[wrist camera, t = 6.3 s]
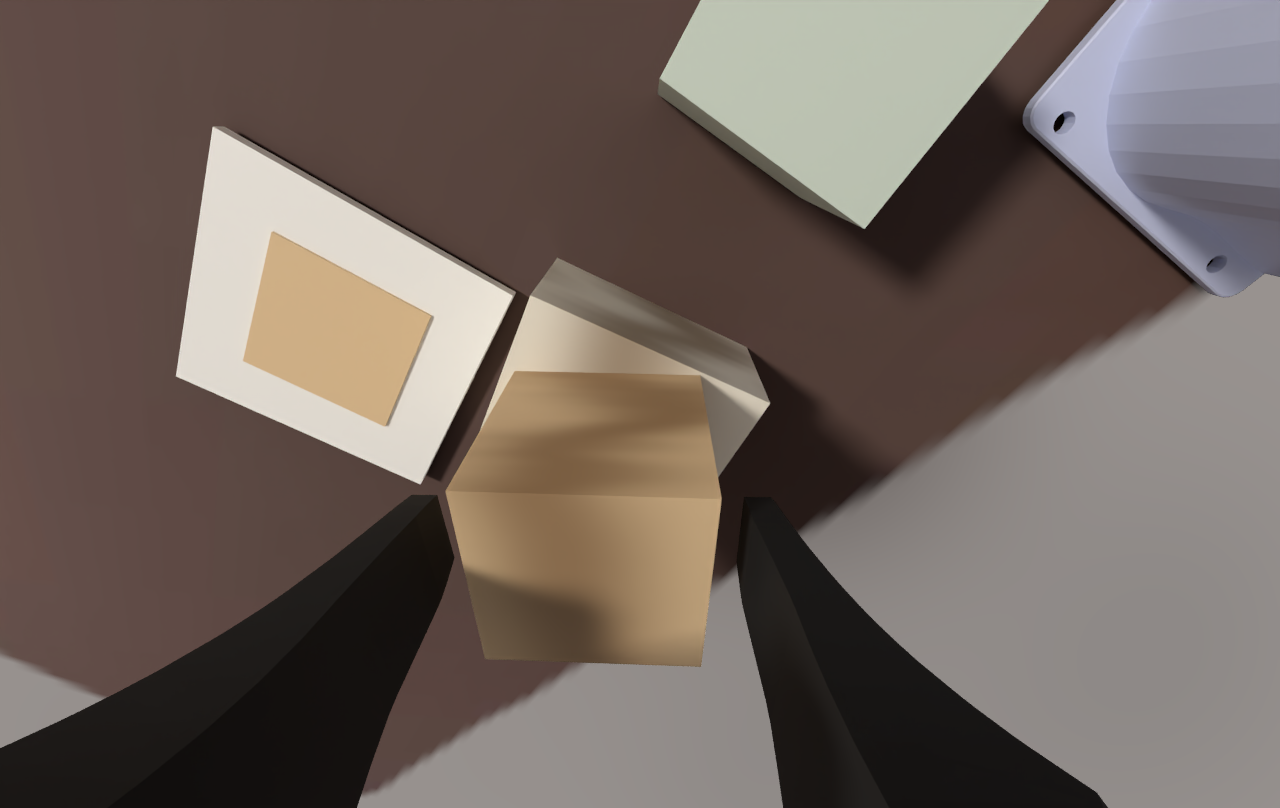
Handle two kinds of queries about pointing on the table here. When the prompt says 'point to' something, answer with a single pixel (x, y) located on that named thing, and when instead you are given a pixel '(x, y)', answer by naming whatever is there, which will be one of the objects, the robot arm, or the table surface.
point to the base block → (634, 349)
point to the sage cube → (838, 85)
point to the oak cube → (591, 519)
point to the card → (330, 312)
